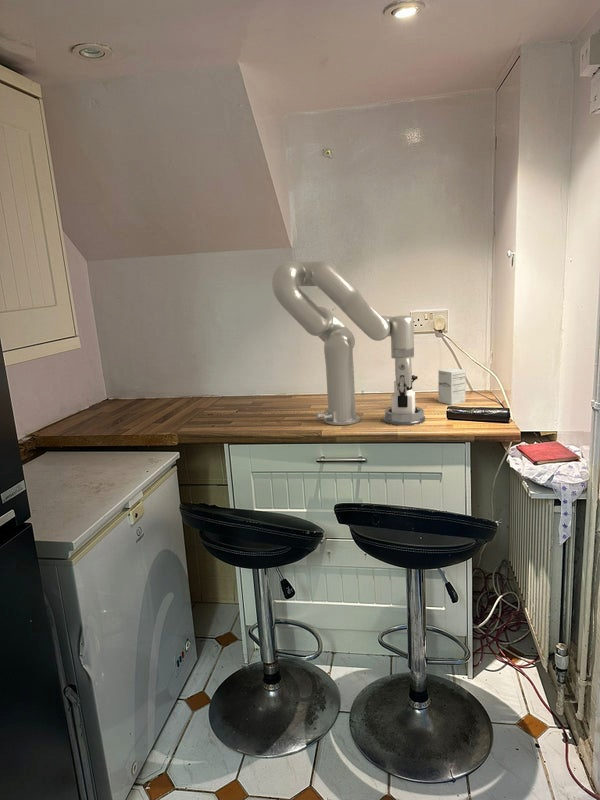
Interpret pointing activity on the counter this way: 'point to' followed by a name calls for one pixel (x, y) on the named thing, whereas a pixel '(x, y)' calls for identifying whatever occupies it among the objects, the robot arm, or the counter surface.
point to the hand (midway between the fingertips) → (403, 404)
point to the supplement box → (452, 386)
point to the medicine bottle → (411, 401)
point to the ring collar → (404, 417)
